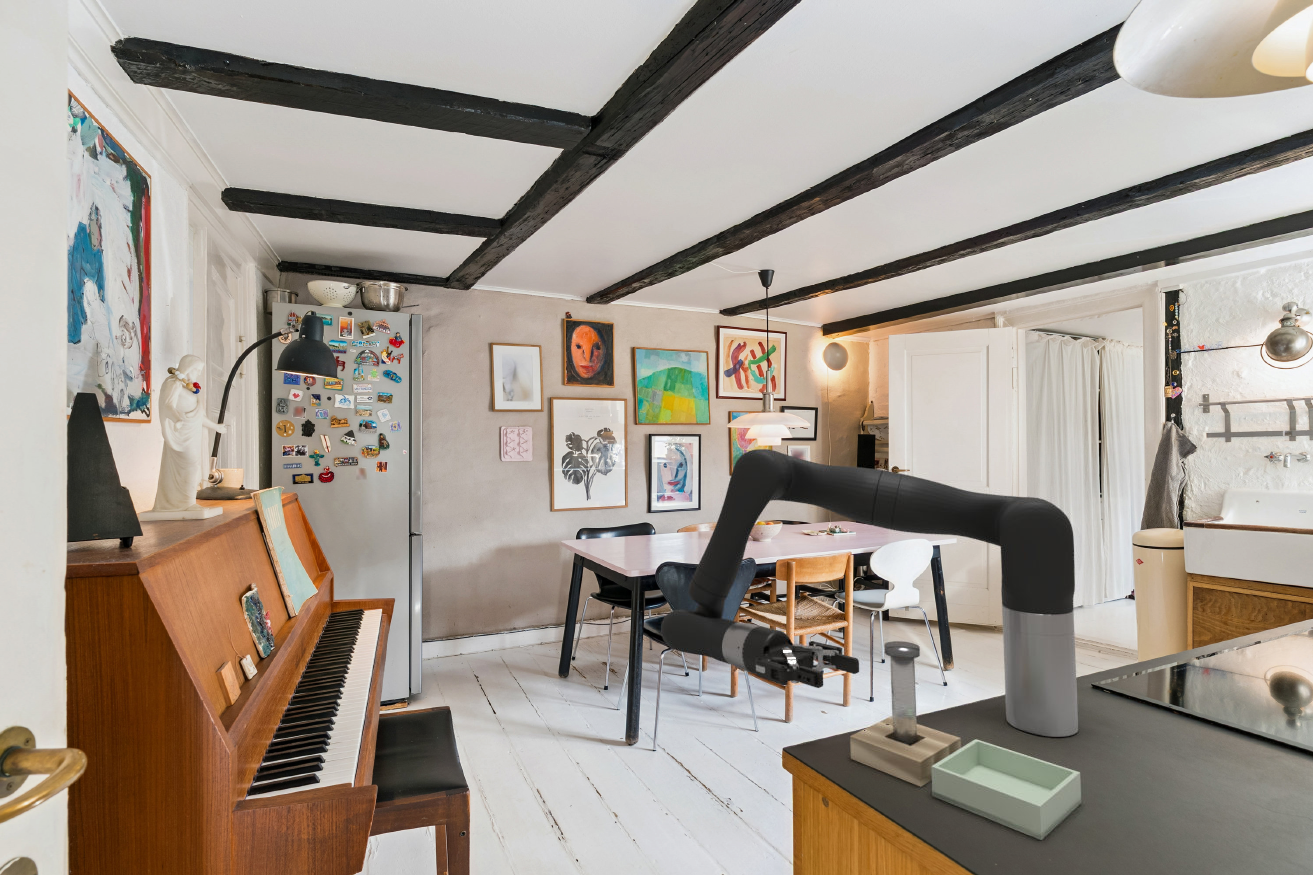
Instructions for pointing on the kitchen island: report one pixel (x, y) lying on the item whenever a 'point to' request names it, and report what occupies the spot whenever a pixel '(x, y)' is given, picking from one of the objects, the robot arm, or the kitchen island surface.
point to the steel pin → (903, 690)
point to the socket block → (902, 751)
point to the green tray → (1007, 787)
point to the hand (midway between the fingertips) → (840, 673)
